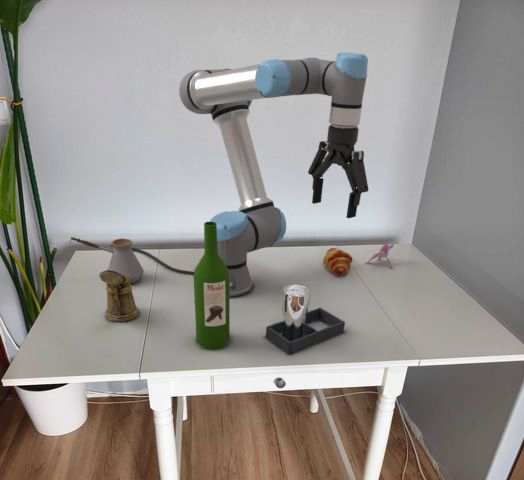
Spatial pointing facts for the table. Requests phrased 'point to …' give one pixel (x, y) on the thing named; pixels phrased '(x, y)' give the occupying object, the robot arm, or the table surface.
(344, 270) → the croissant
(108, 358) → the table surface
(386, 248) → the lily
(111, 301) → the wooden mug
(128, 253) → the coffee pot
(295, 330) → the beer glass
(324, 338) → the rectangular tray
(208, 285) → the wine bottle
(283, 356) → the table surface
